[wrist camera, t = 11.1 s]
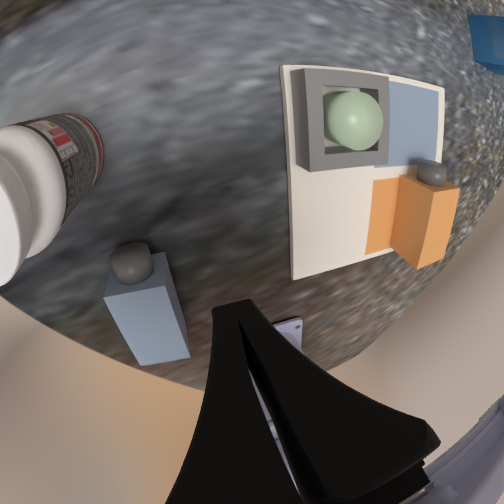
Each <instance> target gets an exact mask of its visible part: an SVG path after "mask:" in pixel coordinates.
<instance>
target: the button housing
mask: <svg viewBox="0 0 504 504" xmlns="http://www.w3.org/2000/svg"><path fill="white" fill-rule="evenodd" d="M290 79H291V91H292V104H293V118H294V134H295V153H296V165H298V166H300V167H301V168H303V169H305V170H307V171H308V172H318V171H326V170H334V169H343V168H352V167H362V166H373V165H386V164H388V156H389V132H390V94H389V77H386V76H381V75H374V74H368V73H360V72H352V71H342V70H331V69H314V68H302V69H297V70H292V71H290ZM322 86H332V87H349V88H360V92H363V93H366V94H368V95H370V96H371V97H373V98H374V99H375V100H376V101H377V103H378V104H379V106H380V108H381V111H382V115H383V129H382V132H381V135H380V137H379V139H378V140H377V142H376V143H375V144H374V145H373V146H371V147H370V148H368V149H365V150H354V149H351V148H348V147H345V146H331V147H324V116H323V96H322Z"/></svg>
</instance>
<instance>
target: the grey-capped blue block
mask: <svg viewBox="0 0 504 504" xmlns="http://www.w3.org/2000/svg"><path fill="white" fill-rule="evenodd" d="M110 262H111V264H112V265H111V269H110V273H109V276H108V280H107V284H106V288H105V292H104V297H103V298H104V300H105V302H106V304H107V306H108V308H109V310H110V312H111V314H112V316H113V318H114V320H115V322H116V324H117V326H118V327H119V329H120V331H121V333H122V335H123V337H124V338H125V340H126V342H127V344H128V345H129V347H130V349H131V350H132V352H133V354H134V356H135V357H136V359H137V360H138V362H139V364H140V365H141V366H142V365H149V364H156V363H162V362H168V361H174V360H179V359H185V358H190V350H189V344H188V337H187V329H186V322H185V319H184V316H183V313H182V309H181V306H180V303H179V300H178V297H177V293H176V290H175V286H174V283H173V280H172V276H171V273H170V269H169V265H168V262H167V258H166V254H165V252H161V253H156V254H151V255H150V251H149V248H148V245H147V244H146V243H143V242H131V243H128V244H125V245H122V246H120V247H119V248H117V249H116V250H115V251H114V252H113V253H112V254H111V256H110Z"/></svg>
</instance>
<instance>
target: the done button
mask: <svg viewBox="0 0 504 504" xmlns="http://www.w3.org/2000/svg"><path fill="white" fill-rule="evenodd" d="M323 116H324V135H325V137H326V138H327V139H329V140H330V141H332V142H334V143H337V144H340V145H343V146H345V147H348V148H351V149H354V150H365V149H368V148H370V147H371V146H373V145H374V144H375V143H376V142H377V140H378V139H379V137H380V135H381V132H382V129H383V115H382V111H381V108H380V106H379V104H378V103H377V101H376V100H375V99H374V98H373V97H371V96H370V95H368V94H366V93H363V92H352V91H336V92H333V93H331V94H329V95H328V96H326V97H325V98H324V100H323Z"/></svg>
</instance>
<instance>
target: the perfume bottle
mask: <svg viewBox="0 0 504 504" xmlns="http://www.w3.org/2000/svg"><path fill="white" fill-rule="evenodd" d="M467 15H468V20H469V26H470V32H471V38H472V46H473V55H474V61H476V62H478V63H479V64H481V65H482V66H484V67H486V68H487V69H489V70H490V71H492V72H493V73H496V74H500V75H504V17H500V16H490V15H470V14H467Z"/></svg>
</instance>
